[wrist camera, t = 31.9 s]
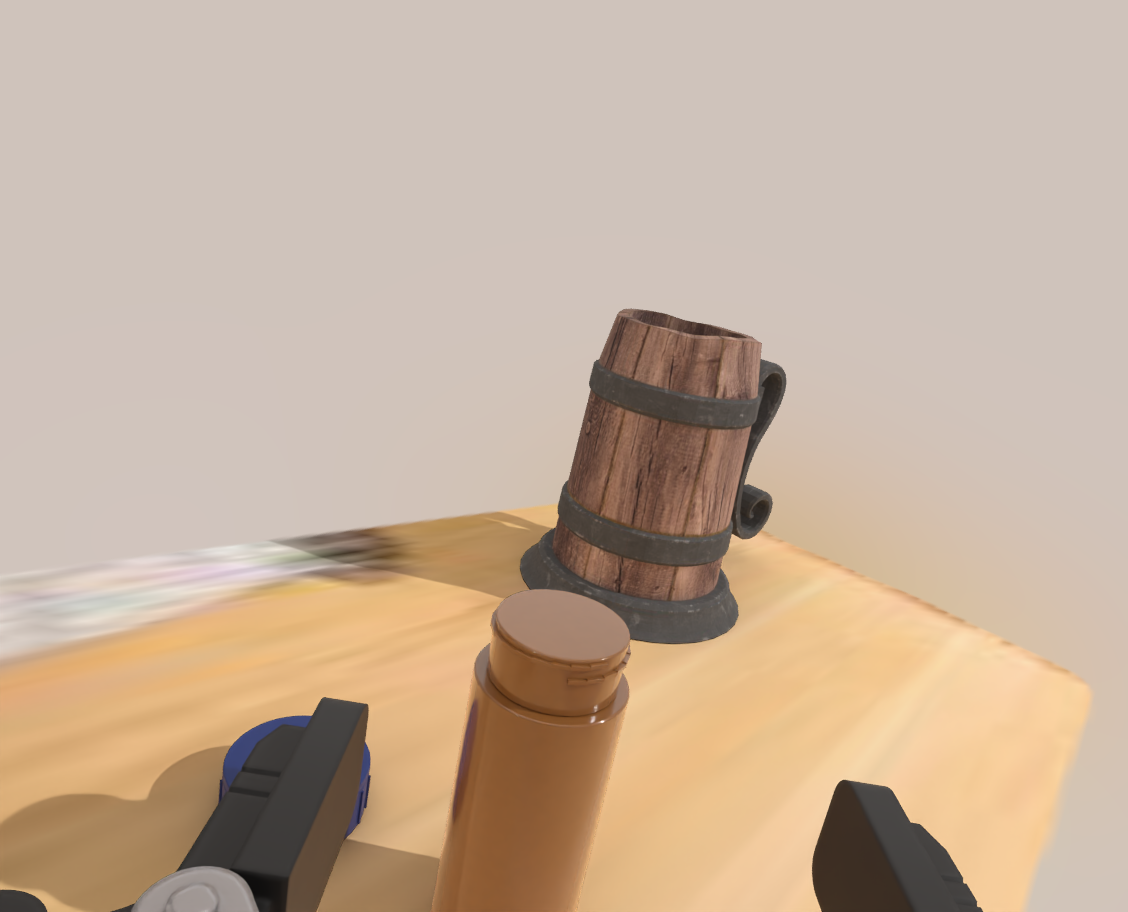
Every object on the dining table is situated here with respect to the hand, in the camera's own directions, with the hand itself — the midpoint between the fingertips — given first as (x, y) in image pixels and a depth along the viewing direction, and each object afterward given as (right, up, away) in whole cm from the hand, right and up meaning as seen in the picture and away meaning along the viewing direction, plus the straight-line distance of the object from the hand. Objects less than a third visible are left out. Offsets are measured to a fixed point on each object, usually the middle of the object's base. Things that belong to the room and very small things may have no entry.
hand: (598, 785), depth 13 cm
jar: (-3, -12, +16) cm, 20 cm away
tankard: (+7, -4, +48) cm, 49 cm away
